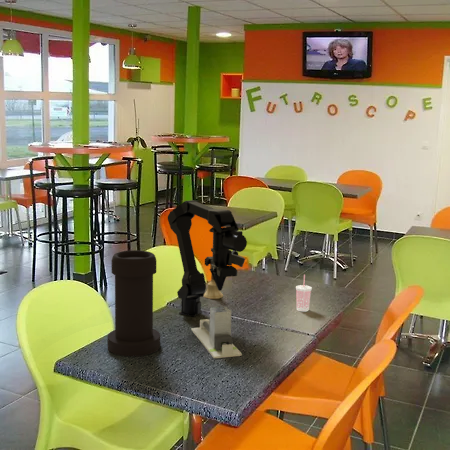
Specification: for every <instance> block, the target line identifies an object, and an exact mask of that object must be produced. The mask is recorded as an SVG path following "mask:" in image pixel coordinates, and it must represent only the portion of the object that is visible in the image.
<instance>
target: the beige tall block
mask: <svg viewBox="0 0 450 450" xmlns="http://www.w3.org/2000/svg"><path fill="white" fill-rule="evenodd" d="M209 325H210V337H209V342H210V344H211V345H212V346H213V347H214V348H215V336H224V335H231V334H232V333H231V331H232V330H231V329H232V310H231V309H229V307H227V306H216V307H213V306H212V307H210V308H209ZM231 336H232V335H231Z"/></svg>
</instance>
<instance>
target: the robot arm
mask: <svg viewBox="0 0 450 450" xmlns="http://www.w3.org/2000/svg"><path fill="white" fill-rule="evenodd" d="M195 216H197V217H199V218H202V219H204V220H206V221H207V223H208V224H209V225H210V226H211V228H210V229H209V230H208V231H209V232H210V233H212V247H211V248H210V252H212V256H206V257H205V258H204V265H205V266H206V267H209V266H210V264H211V265H212V269H210V268H209V272H210V275H211V274H212V276H213V279H214V281H215V283H216V286H217V288H218V290H219V291H220V292H221V291H222V290H223V287H224V285H225V283H226V282H225V281H226V279H227V277H228V278H230V277H237V276H238V269H237V268H236V267H235V266H233V265H236V266H238V267H240V268H243V266H244V264H245V260H246V258H245V257H243V256H241V255H239V253H242V252H243V251H245V249H246V247H247V245H248V241H247V238H246V236H245V235H244V234H243V231H242V230H240V229H239V227H238V224H237V222H236V220H235V217H234V215H233V213H232V211H231V210H229V209H224V208H223V209H222V208H219V209H218V208H213V207H210V206H208V205H206V204H203V203H200V202H198V201H197V200H193V199H192V200H185V201H182V203H181V204H180V205H178V206H176V207H175V208H173V209H172V210H171V211H169V213H168V215H167V221H168V224H169V225H168V226H169V228H170V230H171V231H172V232H173V233H174V234H175V235H176V236H175V237H176V239H177V244H178V250H179V254H180V258H181V264H182V268H183V276H182V278H181V287H179V289H178V290H177V298H178V299H181V300H180V301H181V303H180V304H181V306H180V307H181V308H180V310H181V311H179V312H178V313H179V315H183V316H189V317H195V316H197V315H199V314H201V313H203V311H202V302H201V298H202V297H203V296H204V293H205V292H206V290H207V281H206V279H205V273H204V272H200V271H199V270H198V267H197V262H196V257H195V253H194V247H193V244H192V239H191V234H190V230H191V229H192V225H193V222H192V220H193V219H194V217H195ZM203 298H204V297H203Z"/></svg>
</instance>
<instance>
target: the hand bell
mask: <svg viewBox="0 0 450 450" xmlns="http://www.w3.org/2000/svg"><path fill="white" fill-rule="evenodd" d="M209 267H210V268H209V270H210V269H212V265H211V264H209ZM210 275H211V278H210V282H208V283H207V286H206V289H205V293H204V296H203V298H206V299H210V300H218V299H222V298H223V297H224V294H223V293H222V292H221V291H219V290H218V288H217V286H216V283H215V281H214V279H213V276H212V274H211V273H210Z"/></svg>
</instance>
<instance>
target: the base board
mask: <svg viewBox="0 0 450 450" xmlns="http://www.w3.org/2000/svg"><path fill="white" fill-rule="evenodd" d="M204 322H207V323H208V324H209V325H210V318H207V319H206V318H205V319H200V320H199V327H191V329H190V331H192V332H193V334H194V335H195V337H197V339H198V340H199V341H200V342H201V344H202V346H203V347H204V348H205V349H206V350H207V352H208V353H209V354H210V355H211V356H212V358H213V359H221V358H231V357H233V358H234V357H240V356H243V355H242V352H241V351H240V350H239V349H238V348H237V347H236V346H235V344H233V343H232V344H229V345H222V347H221V350H219V351H217V350H216V349H215V348H214V347H213V346H212V345H211V344H210V342H209V337H210V333H209V332H208V331H207V330H206V328H205V327H204V326H203V323H204Z"/></svg>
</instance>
